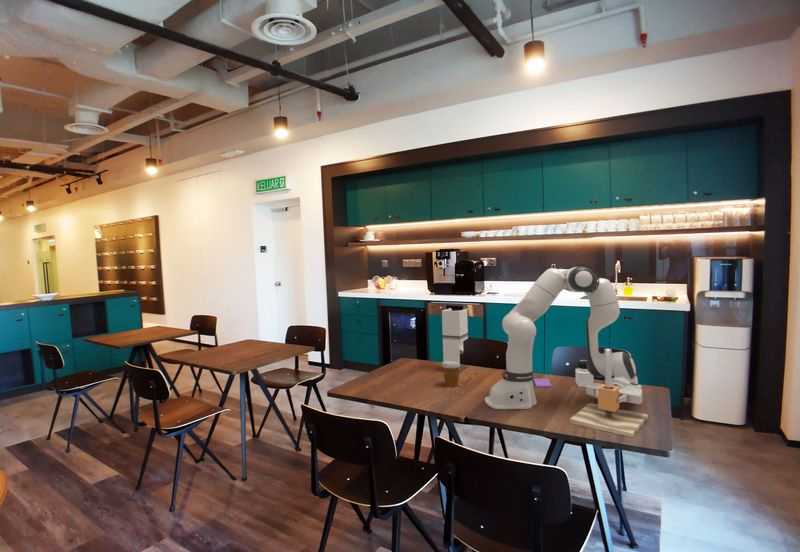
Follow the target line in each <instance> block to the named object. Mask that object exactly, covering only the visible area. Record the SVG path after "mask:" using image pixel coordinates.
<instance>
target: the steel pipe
mask: <svg viewBox="0 0 800 552" xmlns="http://www.w3.org/2000/svg"><path fill="white" fill-rule="evenodd" d="M612 353H613V352H612V349H611V348H604V354H605V377H604V384H605V389H611V390H612V379H613V376H612ZM612 413H613V411H608V410H605V417H607V418H612Z"/></svg>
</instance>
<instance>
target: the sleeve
mask: <svg viewBox="0 0 800 552" xmlns="http://www.w3.org/2000/svg"><path fill="white" fill-rule="evenodd" d="M602 384H603V385H601V386H600V387H599V388H598V398H597V405H598V409H603V410H608V411H613V412H615V411H616V410H617V409H620V403H619V402H616V398H617V397H619V387H616V386H612V390H611V389H605V385H604V384H605V383H602Z"/></svg>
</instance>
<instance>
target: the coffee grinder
mask: <svg viewBox="0 0 800 552" xmlns="http://www.w3.org/2000/svg"><path fill="white" fill-rule="evenodd" d="M441 319H442V320H441V325H442V326H441V327H442V353H443V354H442V357H443V358H442V359H443V361H446V360H457V361H459V362H460V359H461V358H460V355H461V354H463V353H464V341H466V340H468V338H469V333H468V331H469V328H468V308H465V309H464V308H463V309H461V310H453V309H452V308H451V307H449V308H447V309H443V310H441ZM443 361H442V362H443ZM467 369H468V370H469V369H470V365H468V364H467V365H466V364H461V365H460V368H459V373H462V372H464V371H465V372H467V371H468V370H467ZM466 370H467V371H466ZM465 372H464V373H465ZM462 374H463V373H462Z"/></svg>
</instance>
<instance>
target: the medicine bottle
mask: <svg viewBox="0 0 800 552" xmlns="http://www.w3.org/2000/svg"><path fill="white" fill-rule="evenodd" d="M574 373H575V384H576V385H577V386H578V387H579V388H586V386H587V385H589V384H592V383H595V376H593V375H592V374H590V373H589V372H588V369H587V359H581V360H579V361H577V368H575V372H574ZM578 387H577V388H578Z"/></svg>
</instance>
